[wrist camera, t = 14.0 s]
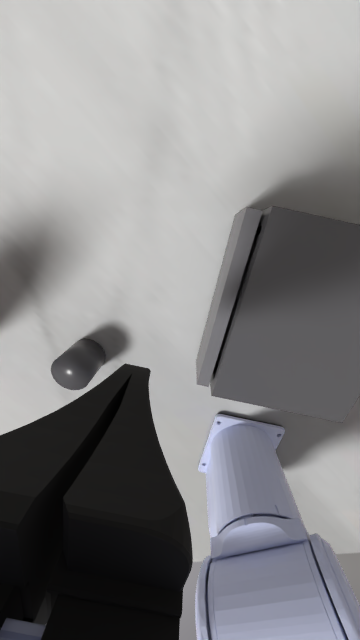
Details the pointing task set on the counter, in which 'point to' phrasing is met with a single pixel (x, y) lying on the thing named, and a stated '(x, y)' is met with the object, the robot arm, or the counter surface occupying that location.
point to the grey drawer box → (297, 319)
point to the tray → (227, 291)
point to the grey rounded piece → (78, 364)
